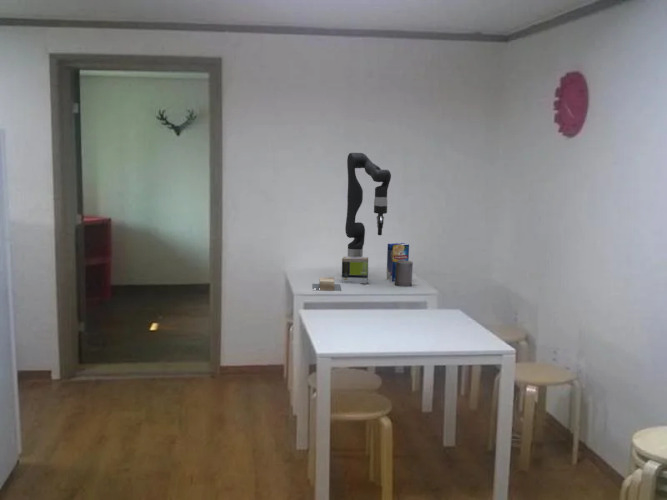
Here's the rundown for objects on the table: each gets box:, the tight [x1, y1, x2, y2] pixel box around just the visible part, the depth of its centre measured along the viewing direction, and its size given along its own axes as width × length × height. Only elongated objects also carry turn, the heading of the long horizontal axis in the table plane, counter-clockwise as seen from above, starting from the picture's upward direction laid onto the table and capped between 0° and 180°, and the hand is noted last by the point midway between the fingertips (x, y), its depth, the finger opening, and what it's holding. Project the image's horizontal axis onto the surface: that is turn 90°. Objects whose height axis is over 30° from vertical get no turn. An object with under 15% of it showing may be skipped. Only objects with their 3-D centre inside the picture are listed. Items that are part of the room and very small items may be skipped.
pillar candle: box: [394, 259, 414, 287], centre depth 419 cm, size 10×10×15 cm
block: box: [318, 276, 336, 292], centre depth 402 cm, size 5×8×13 cm
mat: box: [311, 283, 342, 292], centre depth 405 cm, size 20×16×1 cm
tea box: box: [341, 256, 369, 285], centre depth 424 cm, size 15×10×15 cm
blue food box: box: [385, 242, 410, 283], centre depth 433 cm, size 7×11×22 cm, turn 116°
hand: (379, 235), depth 413 cm, fingers closed
